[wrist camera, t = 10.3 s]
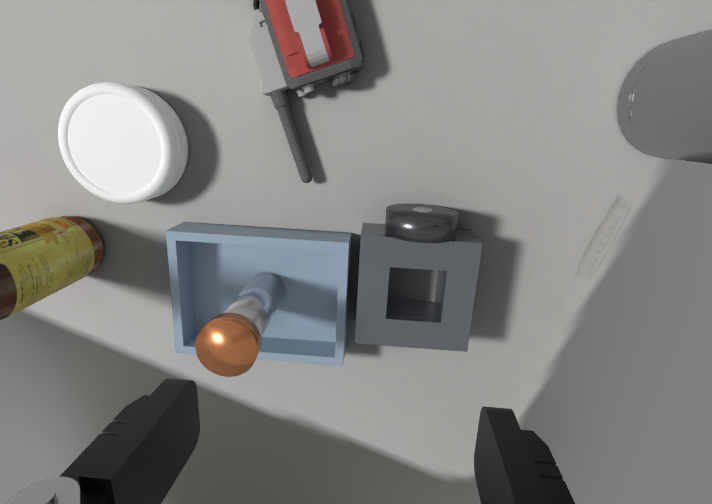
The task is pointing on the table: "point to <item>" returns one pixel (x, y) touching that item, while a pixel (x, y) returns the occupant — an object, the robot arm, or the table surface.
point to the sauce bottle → (45, 259)
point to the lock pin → (240, 327)
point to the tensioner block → (417, 251)
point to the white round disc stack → (122, 142)
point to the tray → (254, 255)
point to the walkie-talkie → (302, 54)
